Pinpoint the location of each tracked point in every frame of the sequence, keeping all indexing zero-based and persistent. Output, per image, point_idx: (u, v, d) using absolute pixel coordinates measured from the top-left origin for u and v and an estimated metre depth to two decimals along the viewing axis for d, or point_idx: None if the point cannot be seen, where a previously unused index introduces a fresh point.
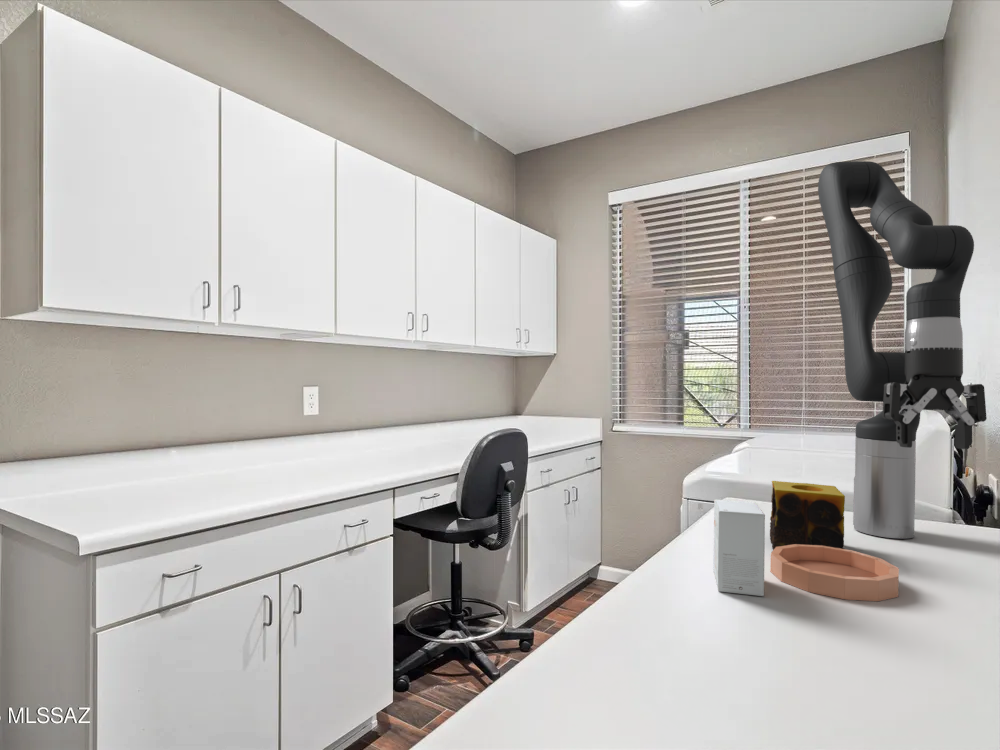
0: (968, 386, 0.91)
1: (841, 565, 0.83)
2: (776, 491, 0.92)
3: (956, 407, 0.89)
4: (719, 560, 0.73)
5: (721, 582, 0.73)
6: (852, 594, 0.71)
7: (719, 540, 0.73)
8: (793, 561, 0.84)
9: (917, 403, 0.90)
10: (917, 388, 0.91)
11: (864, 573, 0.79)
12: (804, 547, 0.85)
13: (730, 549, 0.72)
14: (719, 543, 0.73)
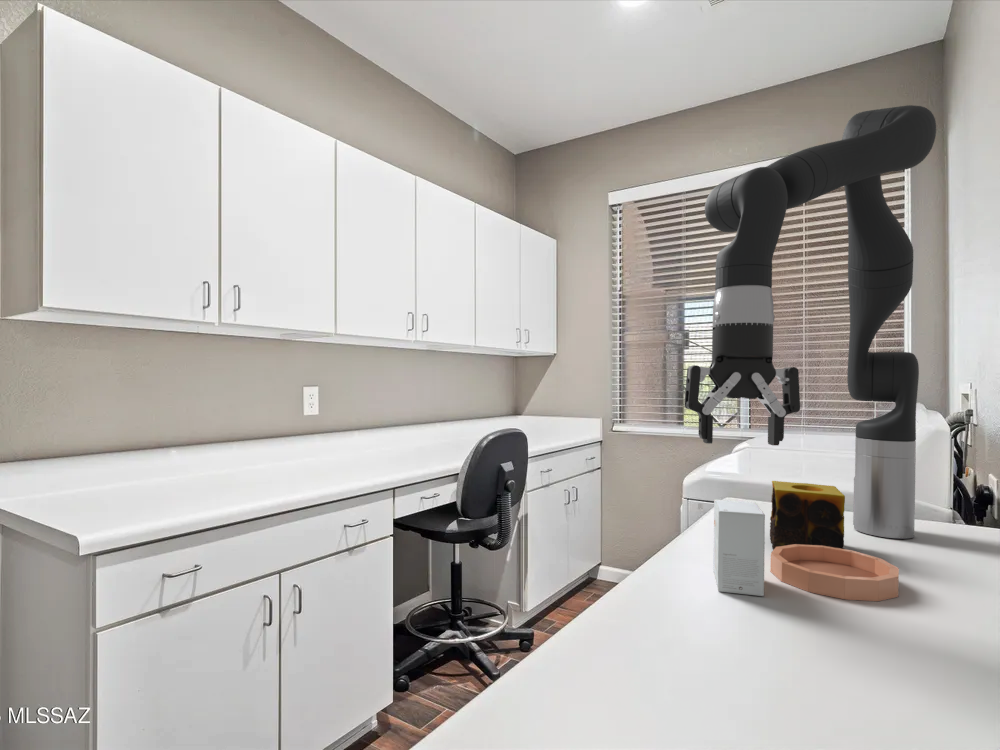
0: (781, 370, 0.75)
1: (841, 565, 0.83)
2: (776, 491, 0.92)
3: (763, 395, 0.74)
4: (719, 560, 0.73)
5: (721, 582, 0.73)
6: (852, 594, 0.71)
7: (719, 540, 0.73)
8: (793, 561, 0.84)
9: (718, 390, 0.75)
10: (720, 372, 0.75)
11: (864, 573, 0.79)
12: (804, 547, 0.85)
13: (729, 549, 0.72)
14: (719, 543, 0.73)
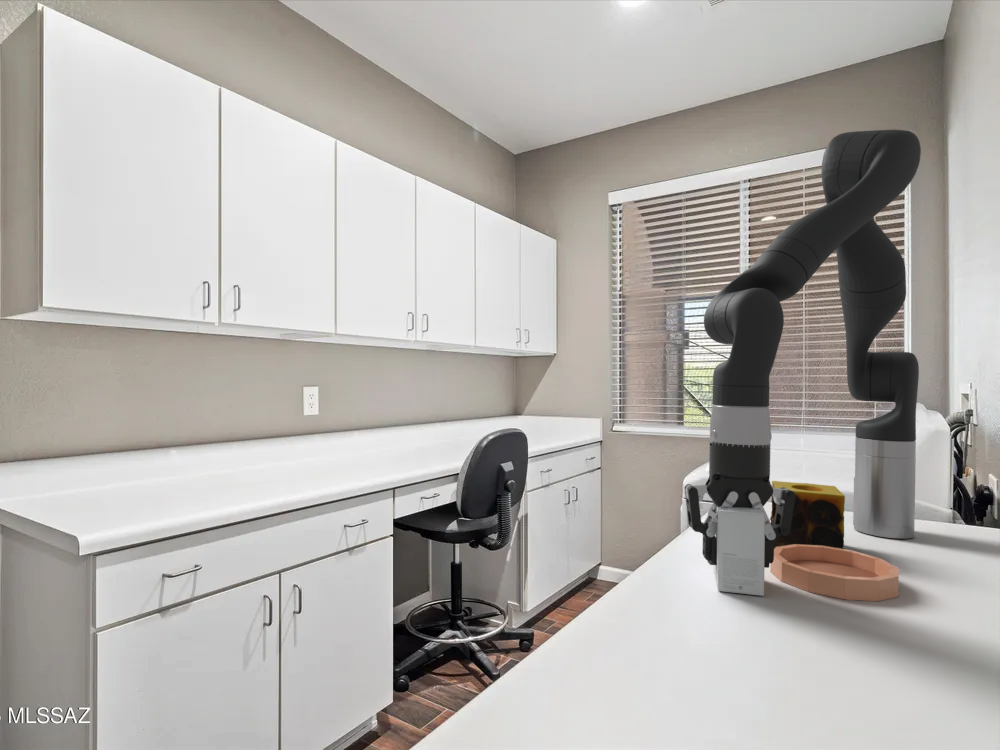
0: (779, 490, 0.75)
1: (841, 565, 0.83)
2: None
3: None
4: (719, 560, 0.73)
5: (721, 581, 0.73)
6: (852, 594, 0.71)
7: (719, 540, 0.73)
8: (793, 561, 0.84)
9: None
10: (717, 490, 0.75)
11: (864, 573, 0.79)
12: (804, 547, 0.85)
13: (730, 549, 0.72)
14: (719, 543, 0.73)
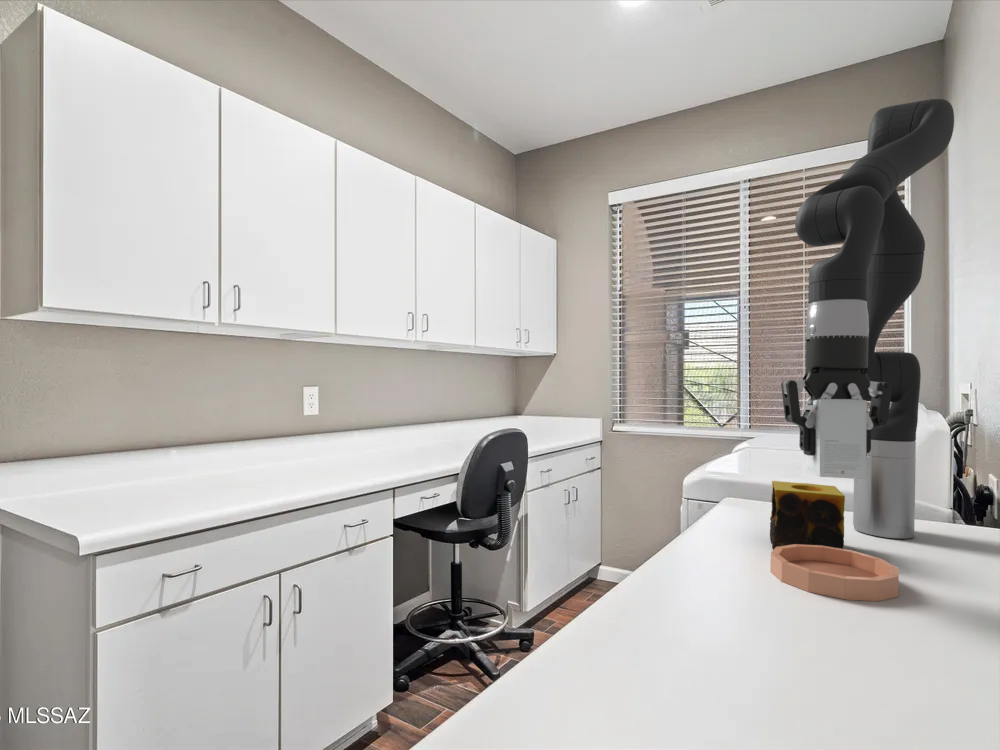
0: (875, 383, 0.78)
1: (841, 565, 0.83)
2: (776, 491, 0.92)
3: None
4: (821, 447, 0.76)
5: (823, 467, 0.75)
6: (852, 594, 0.71)
7: (821, 427, 0.76)
8: (793, 561, 0.84)
9: None
10: (816, 383, 0.78)
11: (864, 573, 0.79)
12: (804, 547, 0.85)
13: (831, 436, 0.75)
14: (821, 430, 0.76)
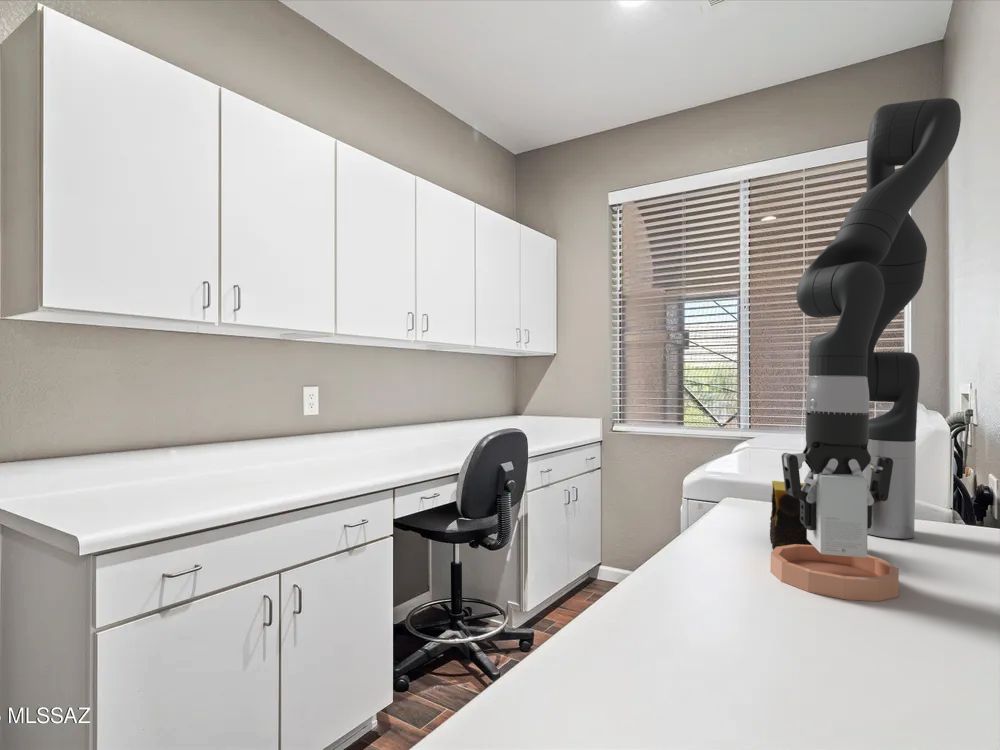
0: (876, 458, 0.78)
1: (841, 565, 0.83)
2: (776, 491, 0.92)
3: None
4: (822, 524, 0.75)
5: (823, 545, 0.75)
6: (852, 594, 0.71)
7: (821, 504, 0.75)
8: (793, 561, 0.84)
9: None
10: (817, 457, 0.78)
11: (864, 573, 0.79)
12: (804, 547, 0.85)
13: (832, 513, 0.75)
14: (821, 507, 0.75)
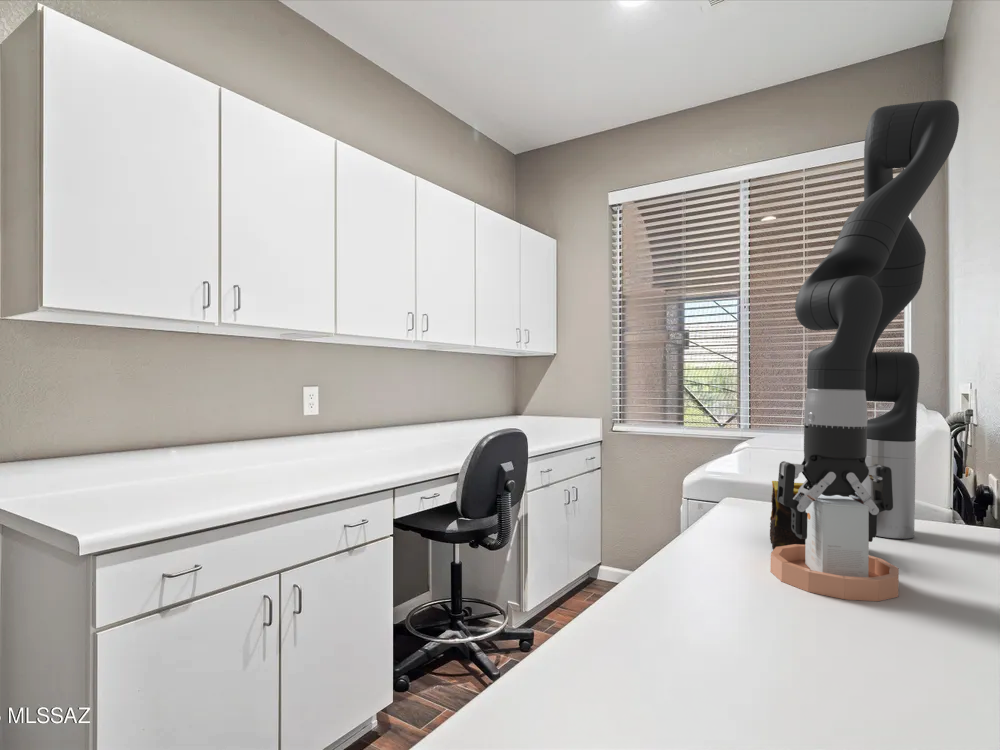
0: (874, 468, 0.78)
1: None
2: (776, 491, 0.92)
3: (857, 494, 0.77)
4: (824, 552, 0.75)
5: None
6: (852, 594, 0.71)
7: (824, 532, 0.75)
8: (793, 561, 0.84)
9: (813, 489, 0.77)
10: (814, 470, 0.78)
11: None
12: (804, 547, 0.85)
13: (834, 541, 0.75)
14: (824, 535, 0.75)
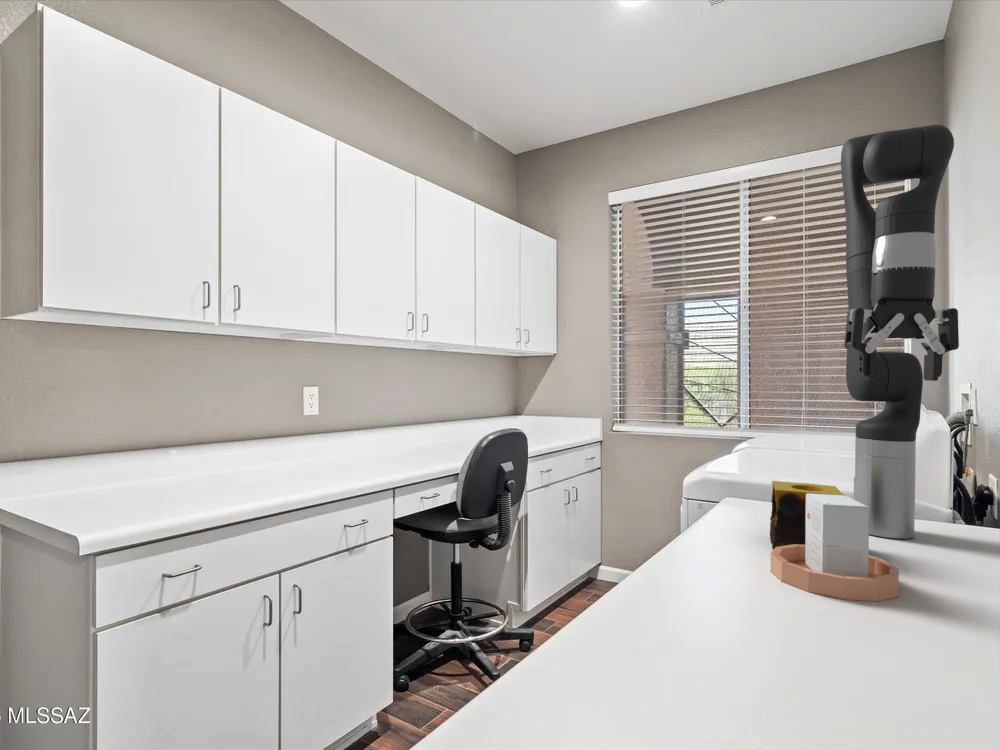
0: (940, 311, 0.81)
1: None
2: (776, 491, 0.92)
3: (925, 334, 0.80)
4: (824, 552, 0.75)
5: None
6: (852, 594, 0.71)
7: (823, 532, 0.75)
8: (793, 561, 0.84)
9: (882, 330, 0.81)
10: (882, 314, 0.82)
11: None
12: (804, 547, 0.85)
13: (834, 541, 0.75)
14: (823, 535, 0.75)
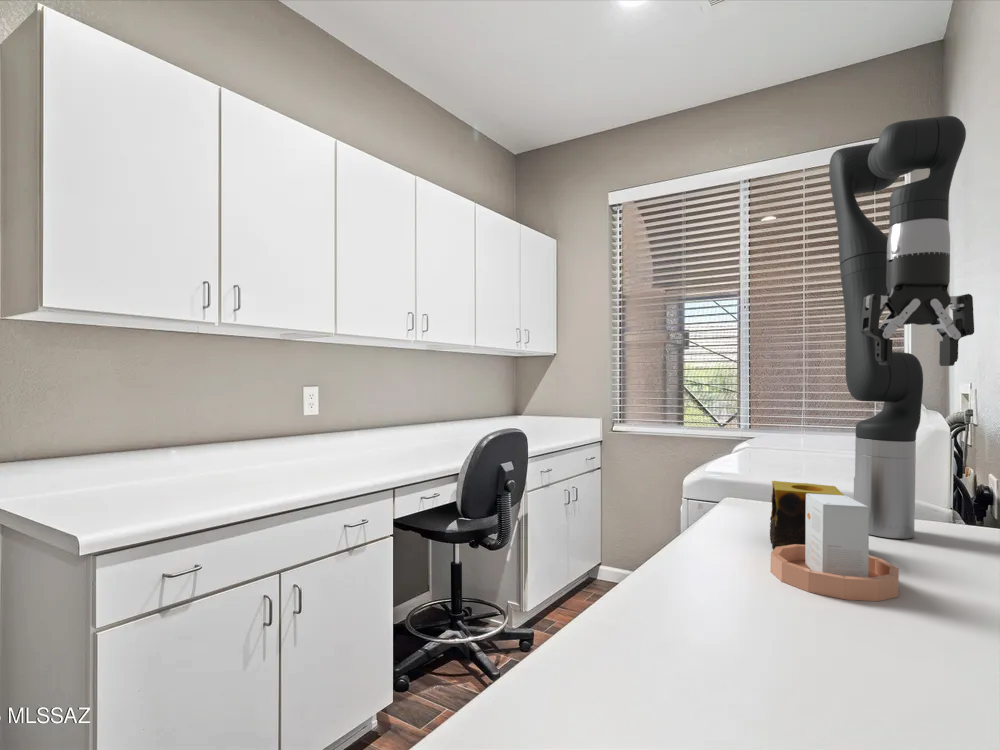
0: (955, 297, 0.82)
1: None
2: (776, 491, 0.92)
3: (941, 319, 0.81)
4: (824, 552, 0.75)
5: None
6: (852, 594, 0.71)
7: (823, 532, 0.75)
8: (793, 561, 0.84)
9: (898, 315, 0.82)
10: (899, 299, 0.83)
11: None
12: (804, 547, 0.85)
13: (834, 541, 0.75)
14: (823, 535, 0.75)
